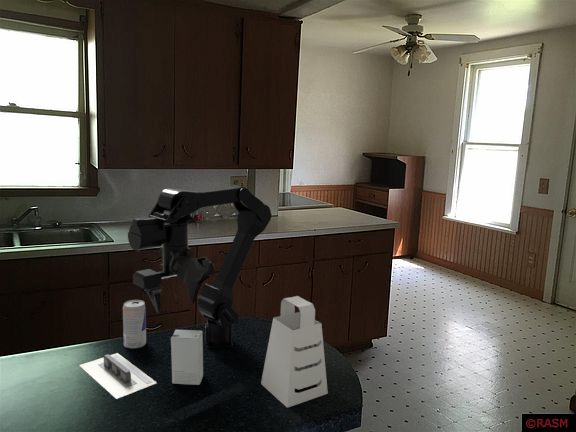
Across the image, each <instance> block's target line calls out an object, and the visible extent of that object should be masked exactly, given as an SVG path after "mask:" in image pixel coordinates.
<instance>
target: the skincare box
mask: <svg viewBox="0 0 576 432" xmlns="http://www.w3.org/2000/svg"><path fill="white" fill-rule="evenodd" d="M170 346H171V349H170V352H171V353H170V355H171V383H172V384H174V385H175V384H177V385H195V386H196V385H197V386H199V385H201V382H202V380H203V377H204V354H203V353H204V349H203V330H194V329H193V330H192V329H191V330H190V329H175V330H174V332H173V334H172V335H171V337H170Z"/></svg>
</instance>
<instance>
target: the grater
mask: <svg viewBox="0 0 576 432" xmlns="http://www.w3.org/2000/svg"><path fill="white" fill-rule="evenodd" d="M295 306H296V307H297V308H298V312H295V311H296V310H295V309H296V307H295ZM272 318H273V319H272V323H271V329H270V334H269V339H268V344H267V348H266V349H267V350H266V354H265V360H264V365H263V371H262V376H261V381H260V384H261V386H263V387H264V388H265V389H266V390H267V391H268V392H269V393H270V394H271V395H273V396H274V397H275V398H276V399H277V400H278V401H279V402H280V403H281V404H283V405H284V406H285V408H290V407H293V406H297V405H299V404H301V403H305V402H308V401H310V400H313V399H316V398H318V397H319V398H320V397H323V396H325V395H327V394H329V392H328V383H327V371H326V361H325V349H324V337H323V335H324V334H323V328H322V326H323V325H322V322H320V321H318V320H316V308H315V305H314V304H313V303H312V302H310V301H308V300H306V299H304V298H302V297H301V296H299V295H296V296H292V297H290V296H289V297H284V298H283V299H282V300H281V302H280V315H279V316H275V317H272ZM315 345H316V346H315ZM310 347H311V348H310ZM314 385H316V387H315V386H314ZM312 386H314V387H313V388H310V389H307V390H304V391H299V390H302V389H304V388H308V387H312ZM295 390H298V391H299V392H296V391H295Z"/></svg>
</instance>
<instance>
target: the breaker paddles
mask: <svg viewBox="0 0 576 432" xmlns="http://www.w3.org/2000/svg"><path fill="white" fill-rule="evenodd" d="M110 355H111V354H109V353H107V354H104V366H105V367H106V368H107V369H111V368H112V373H113V374H115V375H116V376H119V375H121V380H122V381H123V382H124V383H125V384H126V383H129V382H131V373H130V371H129V370H128V369H127V368H125V367H124V366H123V365H122V364H120V363H119V362H118V361H116V360H115V359H114V358H113V357H111V356H110Z"/></svg>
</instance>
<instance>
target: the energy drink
mask: <svg viewBox="0 0 576 432" xmlns="http://www.w3.org/2000/svg"><path fill="white" fill-rule="evenodd" d="M146 309H147V306H146V303H145V301H144V300H141V299H131V300H130V299H129V300H127V301H125V302H124V303H123V306H122V321H123V322H122V324H123V325H122V329H123V332H122V333H123V335H122V337H123V346H124V347H125V348H127V349H138V348H142V347H144V346H145V345H146V344H147V310H146Z"/></svg>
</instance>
